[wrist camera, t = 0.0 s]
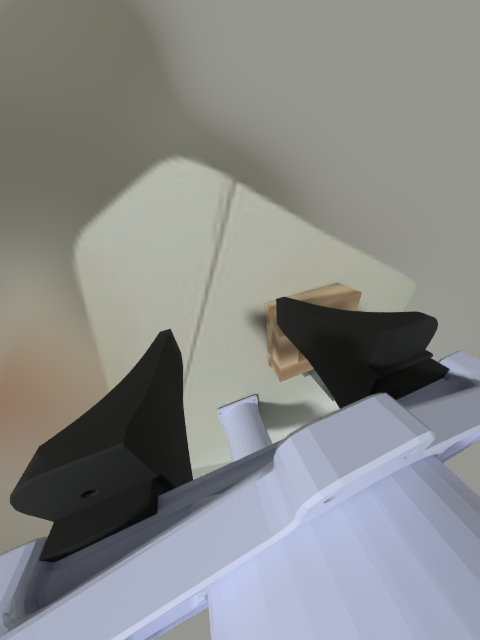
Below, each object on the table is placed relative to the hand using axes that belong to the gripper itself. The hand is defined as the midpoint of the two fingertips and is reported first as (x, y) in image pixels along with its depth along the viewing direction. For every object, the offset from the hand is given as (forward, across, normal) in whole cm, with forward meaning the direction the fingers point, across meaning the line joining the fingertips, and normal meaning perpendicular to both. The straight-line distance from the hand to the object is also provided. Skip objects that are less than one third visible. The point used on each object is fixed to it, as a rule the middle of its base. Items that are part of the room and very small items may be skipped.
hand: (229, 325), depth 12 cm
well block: (+10, -13, +11) cm, 20 cm away
